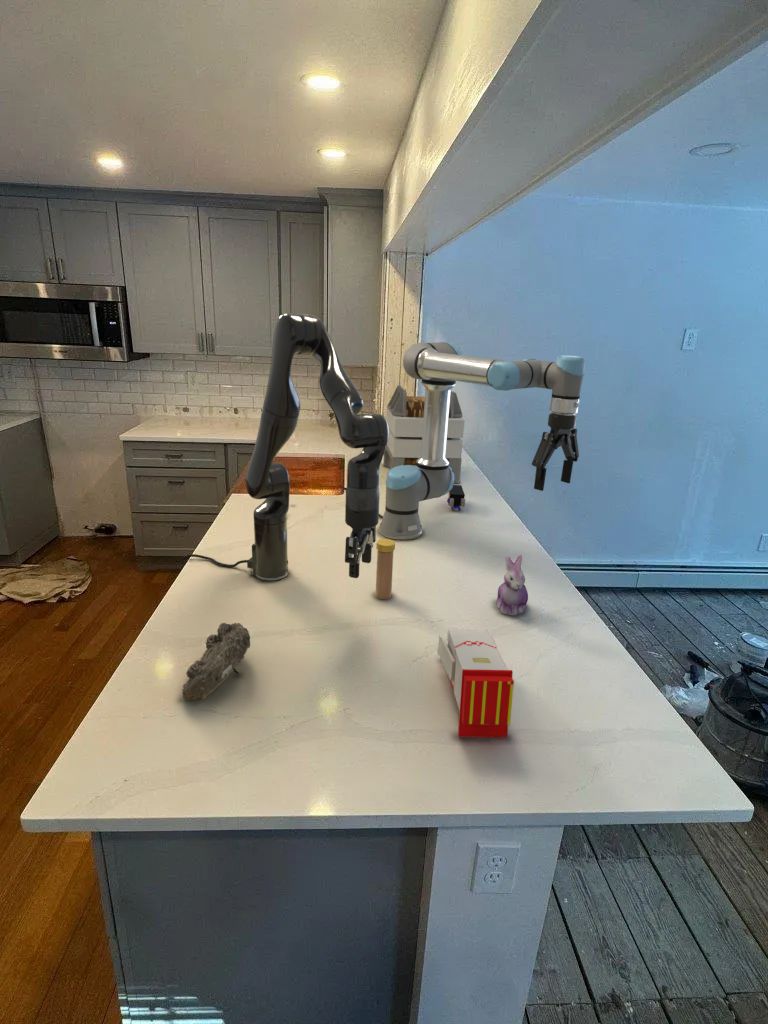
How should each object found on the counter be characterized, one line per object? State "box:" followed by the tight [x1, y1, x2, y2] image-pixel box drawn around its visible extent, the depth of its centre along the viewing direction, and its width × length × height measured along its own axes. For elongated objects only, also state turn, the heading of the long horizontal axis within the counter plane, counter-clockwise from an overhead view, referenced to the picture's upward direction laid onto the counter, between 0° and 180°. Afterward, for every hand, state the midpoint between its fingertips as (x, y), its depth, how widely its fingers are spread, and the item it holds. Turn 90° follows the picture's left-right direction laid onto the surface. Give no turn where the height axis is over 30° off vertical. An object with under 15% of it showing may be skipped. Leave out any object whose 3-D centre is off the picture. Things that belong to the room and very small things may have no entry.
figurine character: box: [446, 484, 466, 511], centre depth 229 cm, size 7×8×15 cm
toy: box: [437, 628, 515, 738], centre depth 117 cm, size 12×13×30 cm
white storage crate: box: [383, 384, 465, 484], centre depth 268 cm, size 34×33×41 cm
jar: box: [375, 549, 395, 600], centre depth 154 cm, size 4×4×16 cm
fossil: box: [181, 622, 251, 702], centre depth 119 cm, size 22×10×15 cm
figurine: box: [496, 554, 529, 616], centre depth 150 cm, size 9×10×15 cm
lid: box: [376, 538, 396, 552], centre depth 152 cm, size 5×5×2 cm
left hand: (360, 569), depth 132 cm, fingers open, 8 cm apart
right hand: (552, 485), depth 166 cm, fingers open, 13 cm apart
